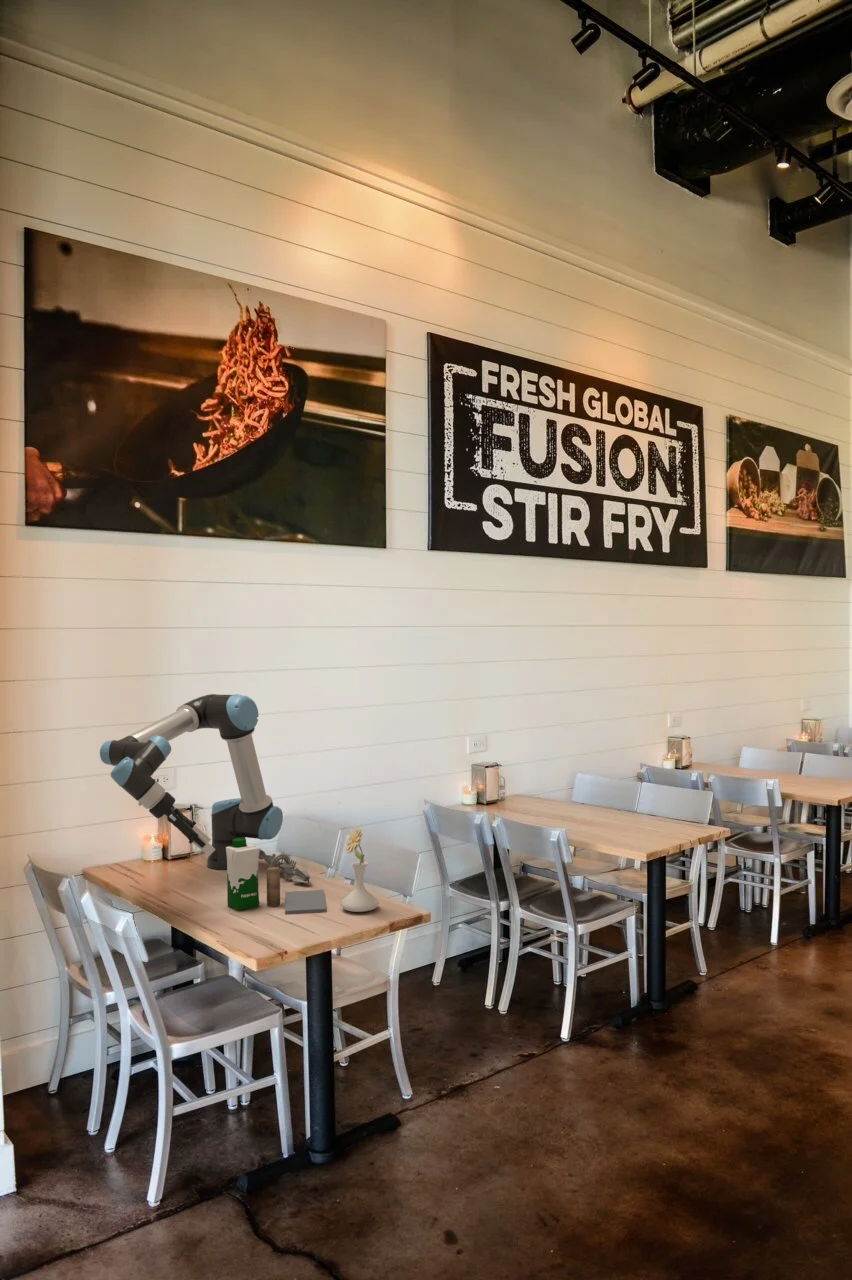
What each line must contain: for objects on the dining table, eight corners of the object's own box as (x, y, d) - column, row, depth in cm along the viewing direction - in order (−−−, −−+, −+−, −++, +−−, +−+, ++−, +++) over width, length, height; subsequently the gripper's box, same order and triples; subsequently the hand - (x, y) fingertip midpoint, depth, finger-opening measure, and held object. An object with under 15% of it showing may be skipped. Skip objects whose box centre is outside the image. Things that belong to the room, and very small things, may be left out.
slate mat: (285, 894, 284) (285, 891, 284) (323, 892, 286) (323, 889, 286) (285, 914, 264) (285, 910, 264) (326, 912, 266) (326, 908, 266)
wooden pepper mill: (267, 903, 275) (266, 867, 275) (280, 902, 276) (279, 866, 276) (266, 907, 272) (266, 870, 271) (280, 906, 272) (279, 870, 272)
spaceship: (266, 842, 322) (248, 837, 317) (322, 871, 296) (304, 866, 291) (258, 863, 321) (240, 859, 316) (314, 894, 295) (295, 890, 290)
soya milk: (249, 900, 279) (248, 835, 279) (263, 907, 272) (263, 840, 272) (223, 905, 273) (222, 840, 273) (237, 912, 266) (236, 845, 266)
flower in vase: (341, 904, 274) (340, 822, 274) (378, 903, 275) (378, 821, 275) (340, 917, 261) (339, 831, 261) (379, 916, 262) (378, 830, 262)
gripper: (146, 802, 275) (197, 847, 280) (148, 818, 251) (204, 867, 256) (164, 784, 277) (214, 829, 282) (168, 798, 253) (223, 847, 258)
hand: (209, 847), depth 269 cm, fingers open, 13 cm apart
